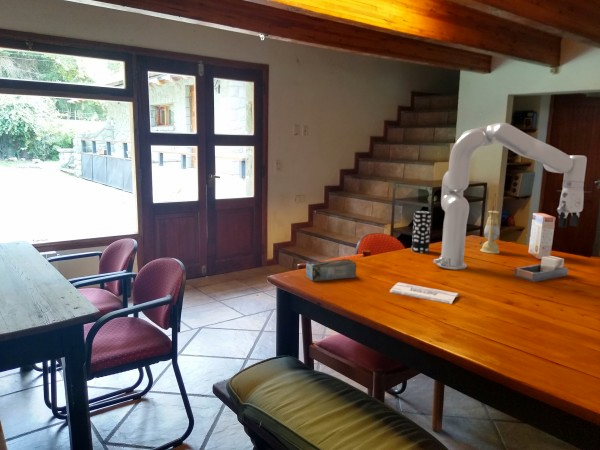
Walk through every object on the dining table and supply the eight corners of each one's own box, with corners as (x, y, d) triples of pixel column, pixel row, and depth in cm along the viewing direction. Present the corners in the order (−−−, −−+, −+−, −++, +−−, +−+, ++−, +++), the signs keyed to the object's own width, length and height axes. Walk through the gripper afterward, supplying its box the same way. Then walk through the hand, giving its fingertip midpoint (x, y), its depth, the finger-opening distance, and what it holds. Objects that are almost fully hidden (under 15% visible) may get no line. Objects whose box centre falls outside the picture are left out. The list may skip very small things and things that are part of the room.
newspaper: (459, 296, 163) (459, 289, 162) (451, 309, 153) (451, 302, 152) (398, 284, 174) (398, 278, 174) (386, 296, 164) (387, 289, 164)
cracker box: (551, 260, 217) (556, 217, 213) (537, 259, 218) (542, 216, 214) (540, 253, 230) (545, 212, 227) (527, 253, 231) (532, 212, 228)
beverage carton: (304, 276, 182) (305, 260, 181) (348, 273, 188) (349, 257, 187) (311, 281, 175) (312, 265, 173) (357, 278, 181) (357, 262, 180)
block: (553, 274, 189) (555, 260, 188) (540, 270, 194) (541, 257, 193) (562, 272, 192) (564, 258, 191) (548, 269, 197) (550, 255, 196)
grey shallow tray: (534, 281, 180) (535, 273, 180) (514, 276, 188) (514, 268, 188) (567, 275, 191) (568, 267, 190) (546, 270, 199) (547, 262, 198)
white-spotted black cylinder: (427, 249, 233) (429, 211, 230) (430, 253, 225) (432, 213, 222) (410, 249, 234) (413, 210, 231) (412, 252, 226) (415, 212, 223)
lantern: (480, 248, 240) (485, 191, 235) (500, 250, 235) (506, 192, 230) (477, 252, 230) (482, 193, 225) (498, 255, 225) (504, 194, 220)
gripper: (569, 186, 183) (564, 229, 186) (594, 185, 191) (588, 226, 194) (551, 184, 189) (546, 226, 192) (576, 183, 198) (571, 223, 201)
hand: (567, 226), depth 193 cm, fingers open, 7 cm apart
